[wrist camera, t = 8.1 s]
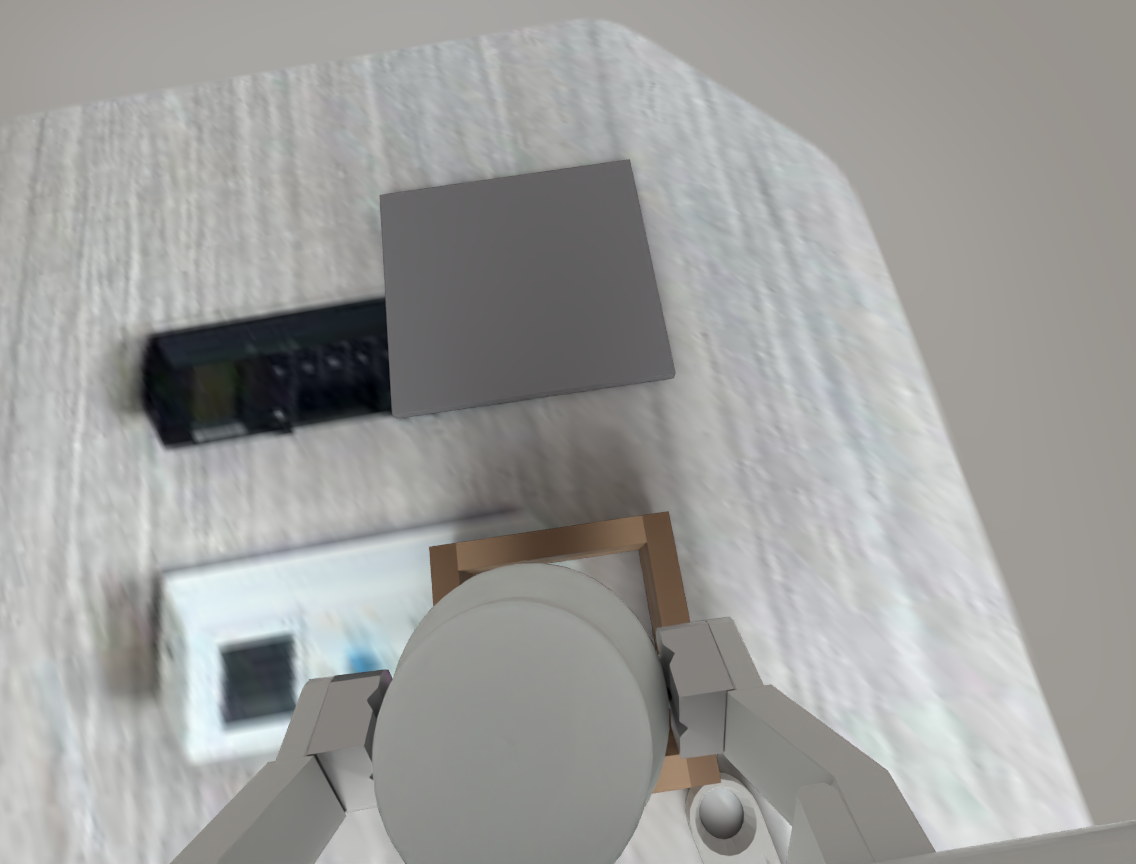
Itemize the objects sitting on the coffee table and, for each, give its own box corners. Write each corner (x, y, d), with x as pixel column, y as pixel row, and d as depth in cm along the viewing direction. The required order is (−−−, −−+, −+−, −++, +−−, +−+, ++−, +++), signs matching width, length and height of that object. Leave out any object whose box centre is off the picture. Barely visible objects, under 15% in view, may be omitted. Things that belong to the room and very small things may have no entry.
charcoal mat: (396, 418, 26) (392, 414, 25) (383, 202, 29) (379, 194, 29) (673, 378, 26) (675, 373, 26) (628, 167, 30) (629, 159, 29)
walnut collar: (470, 789, 22) (449, 824, 18) (451, 553, 24) (429, 546, 21) (700, 754, 22) (721, 782, 18) (657, 523, 24) (668, 511, 21)
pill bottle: (431, 625, 17) (263, 654, 8) (583, 545, 18) (587, 487, 9) (506, 803, 16) (406, 1081, 7) (668, 709, 17) (780, 847, 7)
